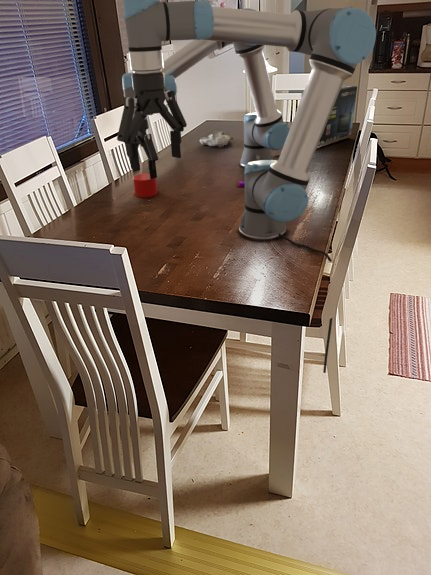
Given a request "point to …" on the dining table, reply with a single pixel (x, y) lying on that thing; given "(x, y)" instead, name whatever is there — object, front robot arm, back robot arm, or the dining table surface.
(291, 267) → the dining table surface
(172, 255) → the dining table surface
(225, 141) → the fossil
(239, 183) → the handgun
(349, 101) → the router box
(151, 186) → the tin
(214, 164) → the dining table surface
